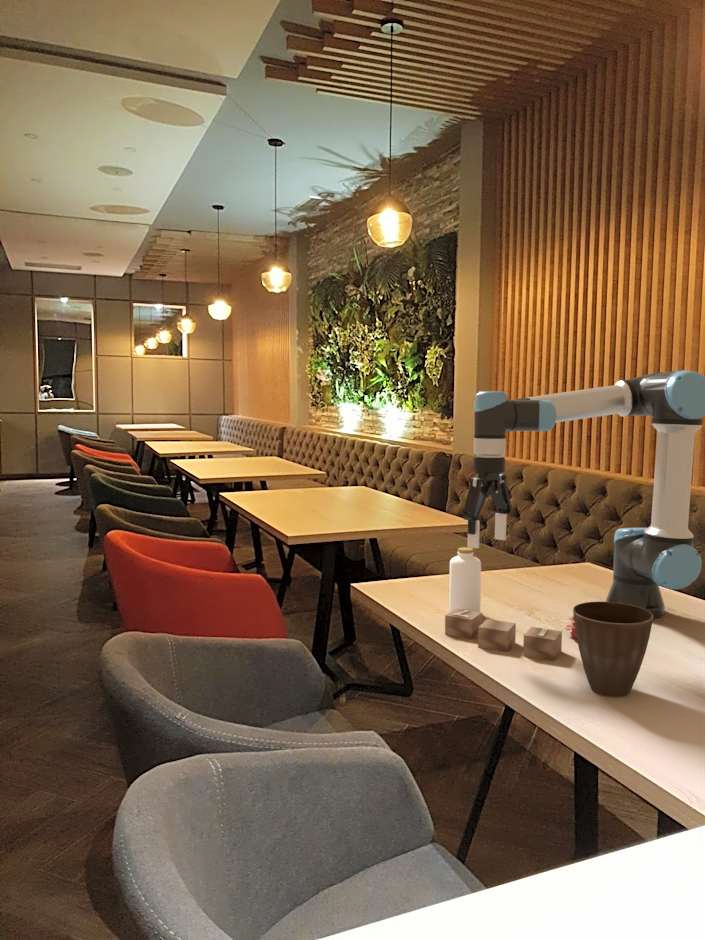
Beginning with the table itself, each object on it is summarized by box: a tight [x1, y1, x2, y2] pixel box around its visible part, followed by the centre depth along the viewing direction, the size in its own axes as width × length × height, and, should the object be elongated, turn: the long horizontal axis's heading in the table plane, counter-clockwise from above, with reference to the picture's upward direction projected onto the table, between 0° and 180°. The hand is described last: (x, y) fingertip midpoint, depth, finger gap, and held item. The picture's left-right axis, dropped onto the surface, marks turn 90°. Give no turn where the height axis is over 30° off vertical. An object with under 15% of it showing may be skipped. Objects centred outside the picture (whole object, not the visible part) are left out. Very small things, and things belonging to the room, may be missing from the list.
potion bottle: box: [448, 546, 482, 613], centre depth 197 cm, size 8×8×18 cm
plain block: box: [477, 618, 517, 653], centre depth 174 cm, size 7×7×5 cm
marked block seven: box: [444, 609, 483, 640], centre depth 183 cm, size 7×7×5 cm
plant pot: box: [572, 601, 654, 698], centre depth 146 cm, size 15×15×16 cm
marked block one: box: [522, 626, 563, 662], centre depth 167 cm, size 7×7×5 cm
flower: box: [564, 613, 577, 639], centre depth 178 cm, size 10×9×8 cm
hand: (487, 543), depth 178 cm, fingers open, 13 cm apart
